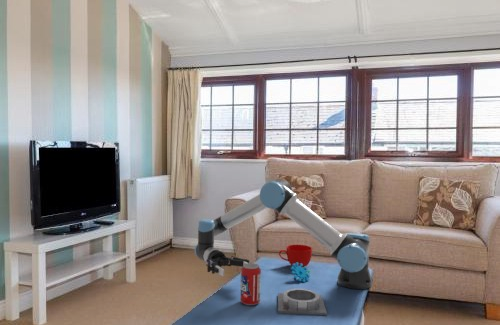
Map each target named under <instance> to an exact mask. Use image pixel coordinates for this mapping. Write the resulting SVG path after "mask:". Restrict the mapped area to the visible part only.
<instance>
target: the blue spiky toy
mask: <svg viewBox="0 0 500 325" xmlns="http://www.w3.org/2000/svg"><path fill="white" fill-rule="evenodd" d="M298 264H299V263H298V262H296V266H295V263H294V264H292V266H291V267H290V270H292V271H291V274H292V275H293V278H294V279H297V278H298V279H297V281H298V282H301V281H302V283H306V282H308V281H309V280H310V279H309V278H310V277H311V275H310V273H311V269H308V268H307V266H305V267H301V266H303V264H302V263H301V264H300V266H298ZM307 269H308V270H307Z"/></svg>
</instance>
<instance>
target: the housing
mask: <svg viewBox="0 0 500 325" xmlns="http://www.w3.org/2000/svg"><path fill="white" fill-rule="evenodd" d="M277 307H278V308H277V312H278V314H286V315H287V314H288V315H308V316H328V311H327V309H326V308H327V307H326V304H325V302H324V299H323V296H322V294H319V293H318V292H316V291H314V290H310V289H307V288H290V289H287V290H285V291H283V293H282V292H281V293H279V292H278V293H277Z"/></svg>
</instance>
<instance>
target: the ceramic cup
mask: <svg viewBox="0 0 500 325" xmlns="http://www.w3.org/2000/svg"><path fill="white" fill-rule="evenodd" d="M283 252H285V253H286V258H285V257H283V256H282V253H283ZM278 255H279V258H281V260H284V261H286V262H289V265H290V266H291V267H292V264H294V263H295V266H296V262H298V263H299V264H298V266H300V264H301V263H302V264H303V266H301V267H305V266H306V267H308V265H309V264H310V262H311V260H312V255H313V248H312V247H311V246H310V245H304V244H289V245H287V246H286V250H285V249H281V250H279V252H278Z"/></svg>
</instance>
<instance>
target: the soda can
mask: <svg viewBox="0 0 500 325" xmlns="http://www.w3.org/2000/svg"><path fill="white" fill-rule="evenodd" d="M261 280H262V270H261V268H260V265H259V264H257V263H251V262H249V263H247V264H244V265H243V267H242V268H241V269H240V302H241V303H242V304H244V305H245V306H256V305H258V304H259V303H260V302H261V289H262V288H261V283H262V281H261Z"/></svg>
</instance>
